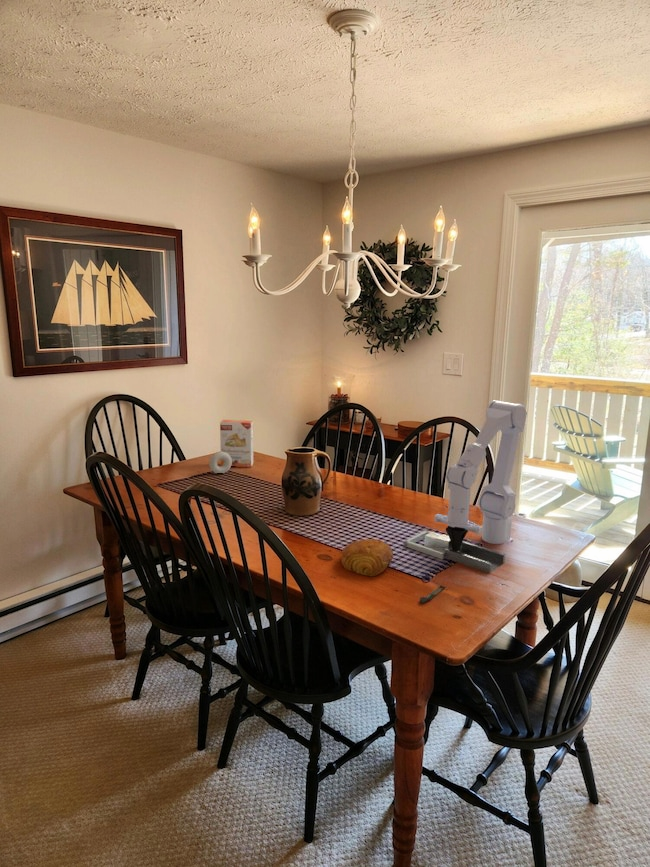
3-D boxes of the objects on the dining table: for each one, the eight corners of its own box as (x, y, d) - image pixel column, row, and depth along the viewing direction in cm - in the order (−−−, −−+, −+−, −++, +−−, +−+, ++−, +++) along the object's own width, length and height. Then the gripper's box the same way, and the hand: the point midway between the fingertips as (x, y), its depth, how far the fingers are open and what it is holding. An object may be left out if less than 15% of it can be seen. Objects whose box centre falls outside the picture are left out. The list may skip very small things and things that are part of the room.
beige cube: (431, 544, 172) (431, 531, 171) (442, 547, 169) (443, 535, 169) (424, 548, 169) (424, 535, 168) (435, 551, 167) (436, 539, 166)
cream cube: (443, 546, 169) (443, 534, 169) (454, 550, 167) (455, 537, 166) (435, 550, 167) (436, 538, 166) (447, 554, 164) (448, 541, 163)
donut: (210, 476, 240) (210, 453, 237) (208, 474, 243) (207, 451, 240) (233, 473, 244) (232, 451, 242) (230, 471, 247) (230, 449, 245)
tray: (425, 537, 178) (426, 530, 178) (462, 549, 170) (463, 541, 169) (403, 548, 170) (404, 541, 169) (441, 562, 161) (442, 554, 160)
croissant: (397, 566, 163) (400, 539, 163) (381, 582, 149) (384, 552, 148) (351, 555, 169) (354, 529, 168) (331, 570, 155) (334, 541, 154)
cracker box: (220, 467, 254) (219, 421, 249) (223, 463, 259) (222, 419, 255) (251, 468, 253) (250, 422, 248) (253, 464, 259) (253, 420, 254)
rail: (460, 551, 169) (460, 540, 168) (504, 565, 159) (505, 554, 159) (444, 560, 162) (445, 549, 161) (489, 576, 153) (490, 564, 152)
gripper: (429, 503, 163) (427, 547, 166) (475, 516, 154) (471, 562, 157) (442, 497, 168) (439, 540, 171) (487, 509, 159) (483, 554, 162)
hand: (455, 550), depth 164 cm, fingers closed
